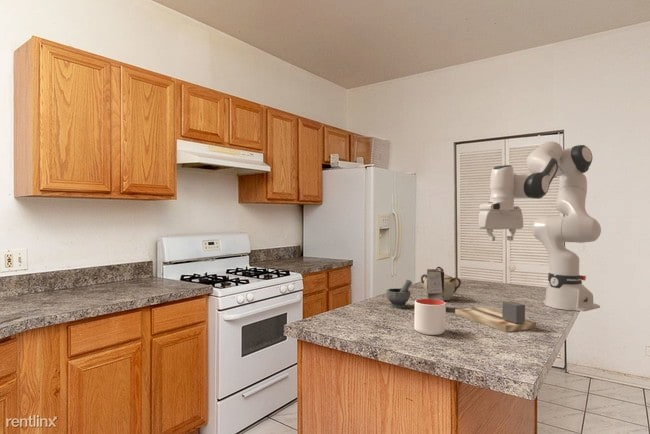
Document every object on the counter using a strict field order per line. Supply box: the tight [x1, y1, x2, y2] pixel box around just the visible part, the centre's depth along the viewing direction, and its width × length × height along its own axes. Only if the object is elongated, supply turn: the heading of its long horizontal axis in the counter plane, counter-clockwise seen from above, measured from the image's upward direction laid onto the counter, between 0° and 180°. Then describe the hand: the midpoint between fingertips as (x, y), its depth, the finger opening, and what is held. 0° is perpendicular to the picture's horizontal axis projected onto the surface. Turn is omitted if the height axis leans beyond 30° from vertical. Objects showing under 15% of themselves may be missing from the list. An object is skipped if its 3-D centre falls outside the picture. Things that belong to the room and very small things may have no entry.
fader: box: [501, 300, 526, 323], centre depth 139 cm, size 4×6×6 cm, turn 22°
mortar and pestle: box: [386, 279, 413, 309], centre depth 168 cm, size 11×9×12 cm
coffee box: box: [426, 268, 445, 302], centre depth 166 cm, size 9×6×16 cm
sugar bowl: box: [420, 266, 462, 301], centre depth 186 cm, size 20×15×15 cm
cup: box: [414, 298, 447, 336], centre depth 133 cm, size 10×10×10 cm
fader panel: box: [454, 306, 537, 333], centre depth 148 cm, size 14×25×2 cm, turn 22°
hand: (501, 240), depth 159 cm, fingers open, 8 cm apart
